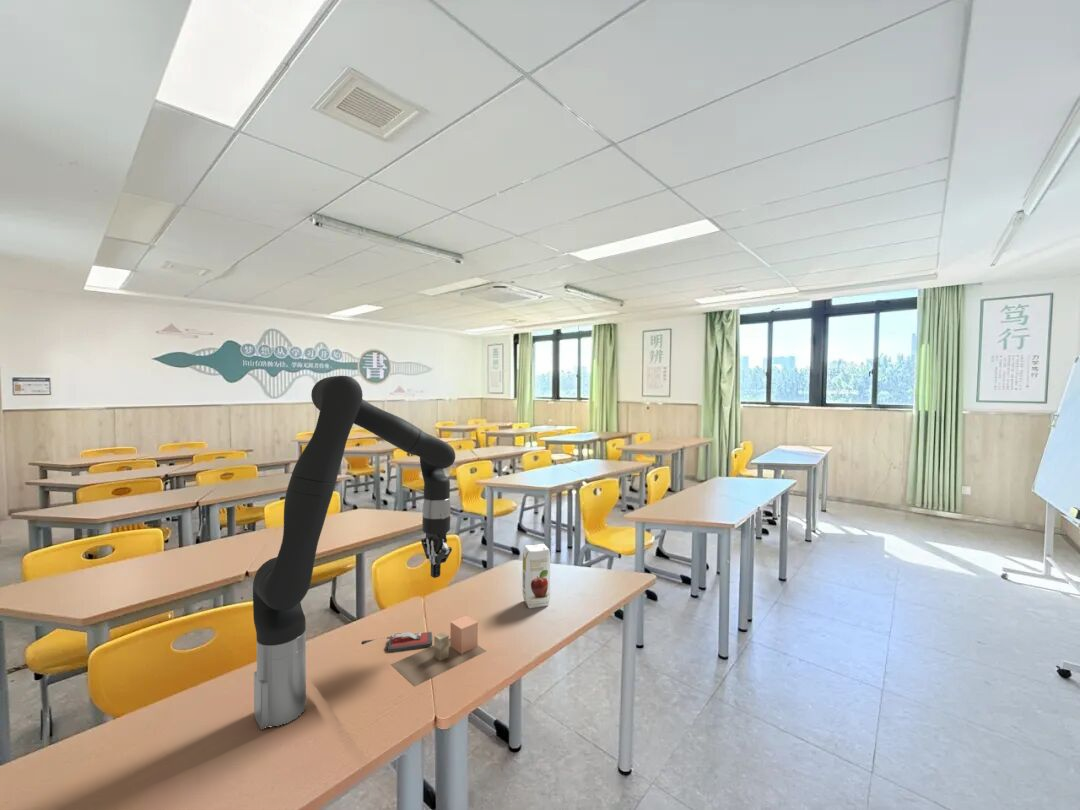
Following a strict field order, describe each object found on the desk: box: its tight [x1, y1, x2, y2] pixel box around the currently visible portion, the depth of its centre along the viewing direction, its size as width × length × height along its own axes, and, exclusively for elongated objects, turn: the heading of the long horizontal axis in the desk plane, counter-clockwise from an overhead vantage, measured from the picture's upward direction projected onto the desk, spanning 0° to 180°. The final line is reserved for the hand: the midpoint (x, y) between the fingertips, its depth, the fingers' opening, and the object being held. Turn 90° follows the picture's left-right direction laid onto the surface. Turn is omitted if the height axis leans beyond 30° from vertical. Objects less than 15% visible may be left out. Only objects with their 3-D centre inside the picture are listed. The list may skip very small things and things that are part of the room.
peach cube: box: [449, 615, 479, 654], centre depth 121 cm, size 5×5×7 cm
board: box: [390, 631, 487, 687], centre depth 116 cm, size 21×12×7 cm, turn 134°
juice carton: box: [521, 543, 551, 609], centre depth 150 cm, size 8×9×19 cm
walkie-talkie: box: [361, 631, 433, 653], centre depth 122 cm, size 9×4×20 cm
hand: (435, 576), depth 124 cm, fingers closed
